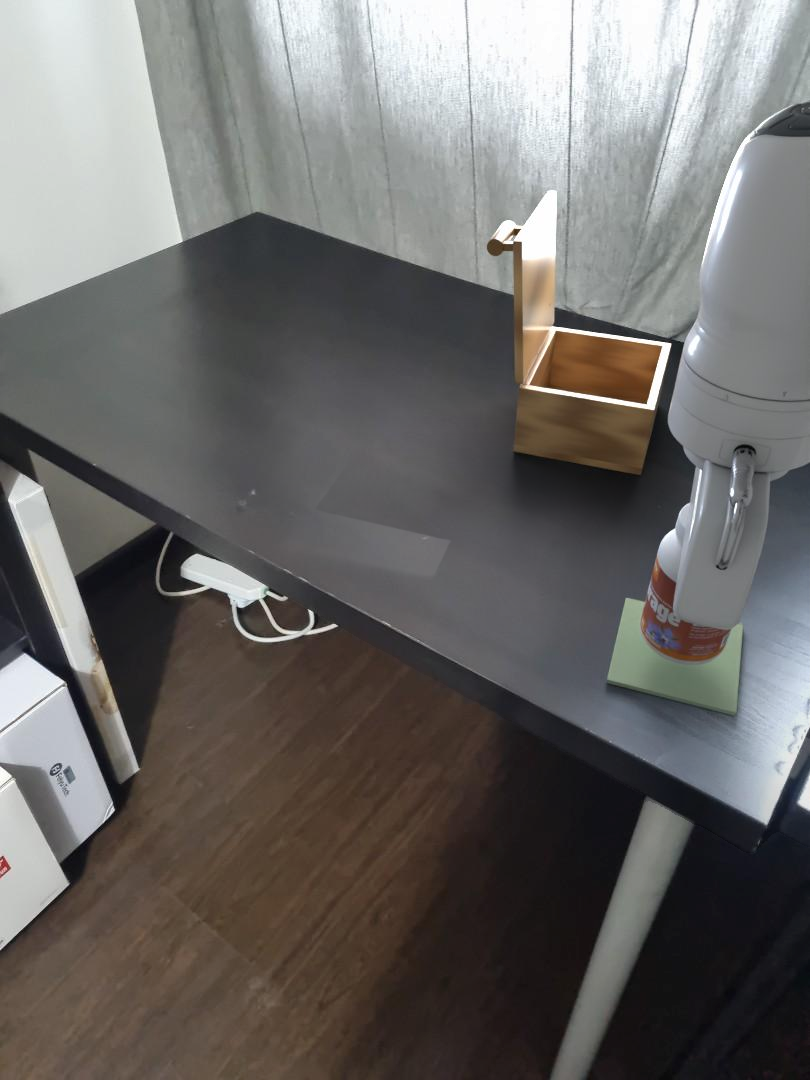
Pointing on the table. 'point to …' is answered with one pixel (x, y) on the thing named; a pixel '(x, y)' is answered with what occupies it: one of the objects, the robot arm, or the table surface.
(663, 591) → the pill bottle
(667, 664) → the mat
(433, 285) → the table surface
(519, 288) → the chest lid
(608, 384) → the chest
